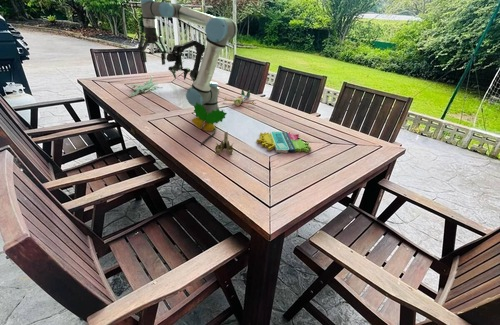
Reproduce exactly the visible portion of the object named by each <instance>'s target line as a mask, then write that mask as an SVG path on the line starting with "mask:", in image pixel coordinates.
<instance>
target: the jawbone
mask: <svg viewBox="0 0 500 325" xmlns="http://www.w3.org/2000/svg"><path fill="white" fill-rule="evenodd" d="M223 135H224V136H223V140H222V139H221V142H220V144H218V142H215V144H216V146H215V148H214V149H215V152H214V154H215V155H217V156H218V155H220V153H221V152H223V151H224V150H226V152H227V153H228V155H229V156H233V155H234V154H233V153H234V148H233V144H234V143H230V140H228V139H229V138H228V137H229V136H228V135H229V133H228V131H226V132H224V134H223Z"/></svg>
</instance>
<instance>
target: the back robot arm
mask: <svg viewBox="0 0 500 325" xmlns="http://www.w3.org/2000/svg"><path fill="white" fill-rule="evenodd" d="M192 47H193V48H195V52H196V54H195V59H194V62H193V63H194V64H193V68H192V69H190V67H185V68H184V66H183V64H184V62H183V56H184V53H183V52H185V50H187V49H190V48H192ZM205 50H206V45H205V44H204V43H203V44H202V43H201V42H199V41H197V40H196V39H191V40H189V41H187V42H185V43H182V44H175V45H173V48H172V50H171V52H168V53H167V55H166V61H167V62H169V63H172V62H174V64H173V65H171V66H170V65H169V66H168V71H169V72H171V73H172V75H173V78H174V79H175V80H176V78H177V72H179V71H181V72H182V73H183V80H184V81H186V78H187V76H188V73H189V77H190V78H191V81H192V82H193V81H196V79H197V76H198V72H199V69H200V66H201V62H202V58H203V55H204V53H205Z"/></svg>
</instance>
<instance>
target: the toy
mask: <svg viewBox="0 0 500 325" xmlns="http://www.w3.org/2000/svg"><path fill="white" fill-rule="evenodd" d="M240 92H241V93H240V95H238V96H237V97H235V99H233V98H230V99H228V98H227V97H226V96H225V97H224V98H223V101H224V102H233V103H232V104H233V105H235V106H242V103H243V104H247V105H252V106H255V105H256V104H257V103H256V102H254V101H253V100H252V101H251V102H250V101H248V100H246V99H248V98H250V97H251V90H250V89H249V90H248V91H247V92H246V93H245V91H244V89H242V90H241V91H240Z"/></svg>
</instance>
